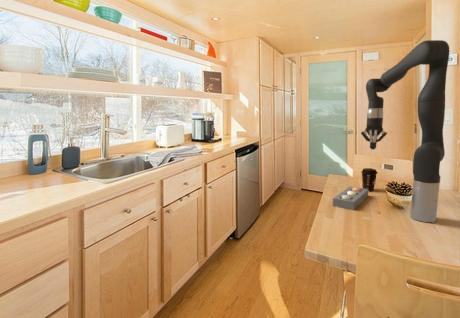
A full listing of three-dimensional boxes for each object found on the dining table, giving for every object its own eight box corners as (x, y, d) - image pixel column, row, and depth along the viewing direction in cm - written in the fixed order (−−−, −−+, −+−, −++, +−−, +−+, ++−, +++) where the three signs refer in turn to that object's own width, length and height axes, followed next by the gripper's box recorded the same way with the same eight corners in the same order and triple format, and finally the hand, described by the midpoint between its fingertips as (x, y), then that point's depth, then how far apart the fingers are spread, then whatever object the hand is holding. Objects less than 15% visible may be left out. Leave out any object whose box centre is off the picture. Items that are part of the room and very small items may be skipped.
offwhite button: (357, 196, 144) (357, 191, 143) (354, 198, 140) (354, 193, 140) (348, 195, 147) (348, 190, 146) (345, 197, 143) (346, 192, 143)
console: (368, 196, 151) (368, 189, 150) (353, 210, 130) (353, 202, 129) (349, 193, 158) (349, 186, 157) (332, 205, 137) (333, 198, 136)
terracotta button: (361, 192, 150) (361, 188, 150) (359, 194, 147) (359, 190, 147) (353, 191, 153) (353, 186, 153) (351, 193, 150) (351, 188, 150)
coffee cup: (372, 188, 166) (374, 167, 164) (378, 192, 158) (380, 170, 156) (358, 188, 167) (359, 167, 165) (363, 191, 159) (364, 170, 157)
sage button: (352, 200, 137) (352, 196, 137) (349, 203, 134) (349, 198, 133) (343, 199, 140) (343, 194, 139) (340, 201, 136) (340, 196, 136)
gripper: (390, 116, 141) (388, 149, 144) (363, 117, 149) (361, 147, 152) (387, 117, 135) (385, 150, 138) (359, 117, 144) (357, 149, 147)
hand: (372, 149), depth 145 cm, fingers closed
